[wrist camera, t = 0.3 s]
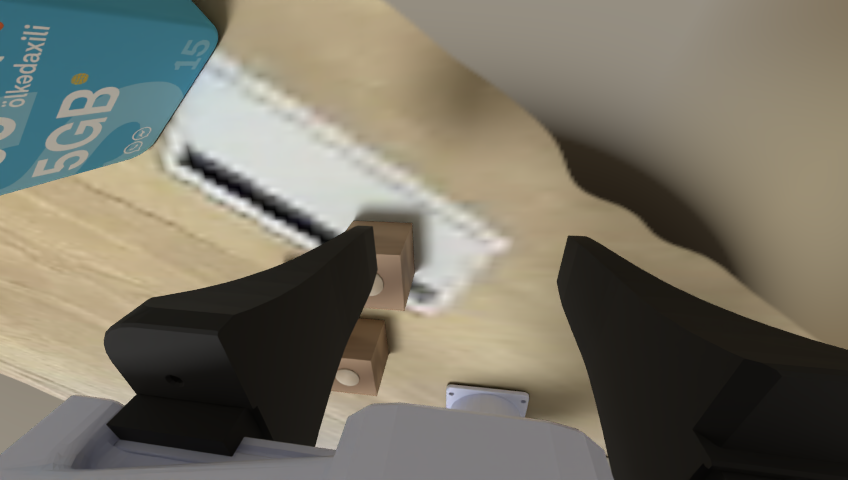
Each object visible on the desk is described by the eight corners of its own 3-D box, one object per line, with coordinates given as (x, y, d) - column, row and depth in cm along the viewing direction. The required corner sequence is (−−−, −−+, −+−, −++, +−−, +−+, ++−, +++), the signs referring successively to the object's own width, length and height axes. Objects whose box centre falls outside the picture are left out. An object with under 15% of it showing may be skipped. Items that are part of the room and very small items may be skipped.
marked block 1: (414, 272, 25) (403, 312, 21) (359, 269, 25) (338, 307, 21) (412, 222, 23) (399, 256, 19) (351, 220, 23) (326, 252, 19)
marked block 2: (388, 353, 30) (376, 397, 26) (343, 349, 31) (324, 391, 27) (384, 319, 28) (370, 362, 24) (336, 315, 29) (313, 357, 25)
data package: (148, 155, 23) (-121, 232, 12) (89, 103, 21) (-270, 141, 11) (230, 28, 18) (-101, -20, 8) (160, -50, 16) (-364, -240, 6)
